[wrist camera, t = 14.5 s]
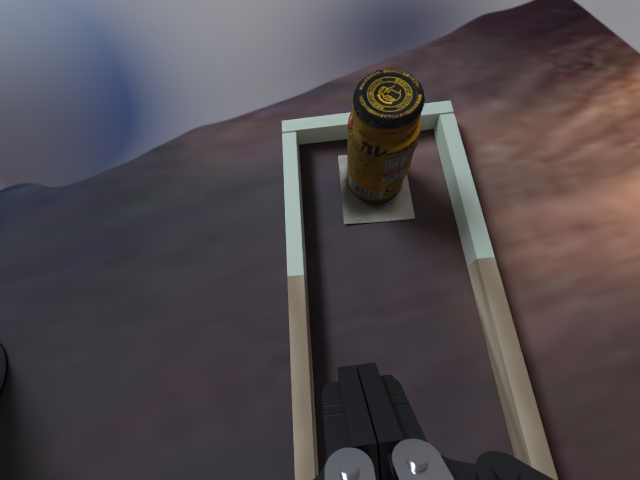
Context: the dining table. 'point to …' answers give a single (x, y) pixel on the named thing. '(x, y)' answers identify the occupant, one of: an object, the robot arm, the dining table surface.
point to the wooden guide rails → (503, 357)
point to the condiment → (381, 148)
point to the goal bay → (336, 129)
